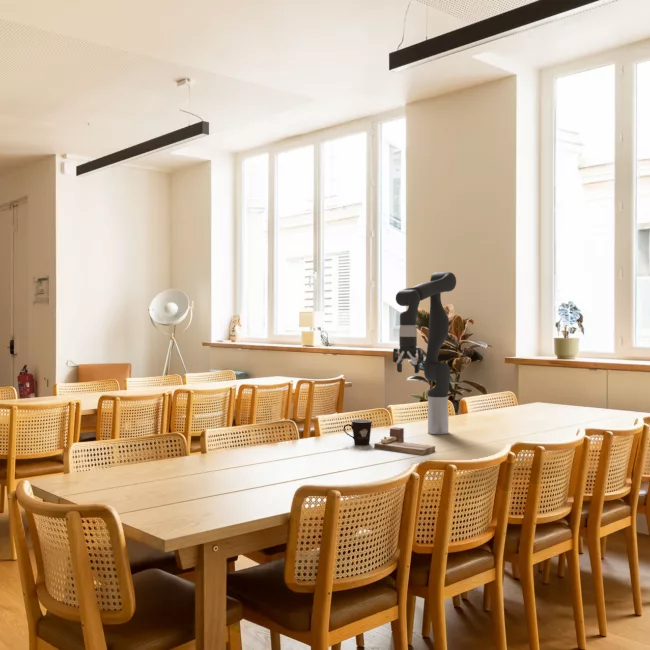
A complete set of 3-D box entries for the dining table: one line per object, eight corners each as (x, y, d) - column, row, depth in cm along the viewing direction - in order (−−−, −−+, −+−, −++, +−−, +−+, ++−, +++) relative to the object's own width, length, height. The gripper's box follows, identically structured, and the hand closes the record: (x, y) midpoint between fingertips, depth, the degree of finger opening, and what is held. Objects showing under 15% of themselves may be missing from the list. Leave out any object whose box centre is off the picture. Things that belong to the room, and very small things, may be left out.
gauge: (395, 443, 308) (394, 427, 308) (403, 444, 306) (403, 428, 305) (378, 447, 298) (378, 431, 298) (387, 449, 296) (387, 432, 296)
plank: (387, 444, 305) (387, 440, 305) (434, 451, 291) (434, 446, 291) (374, 448, 297) (374, 443, 297) (422, 455, 283) (422, 449, 283)
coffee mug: (373, 442, 310) (373, 419, 310) (369, 446, 302) (369, 422, 301) (347, 441, 313) (347, 418, 313) (343, 445, 305) (342, 421, 304)
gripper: (426, 335, 310) (426, 372, 311) (398, 335, 319) (398, 371, 319) (417, 336, 304) (417, 374, 305) (389, 335, 313) (389, 372, 314)
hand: (408, 372), depth 312 cm, fingers open, 8 cm apart
